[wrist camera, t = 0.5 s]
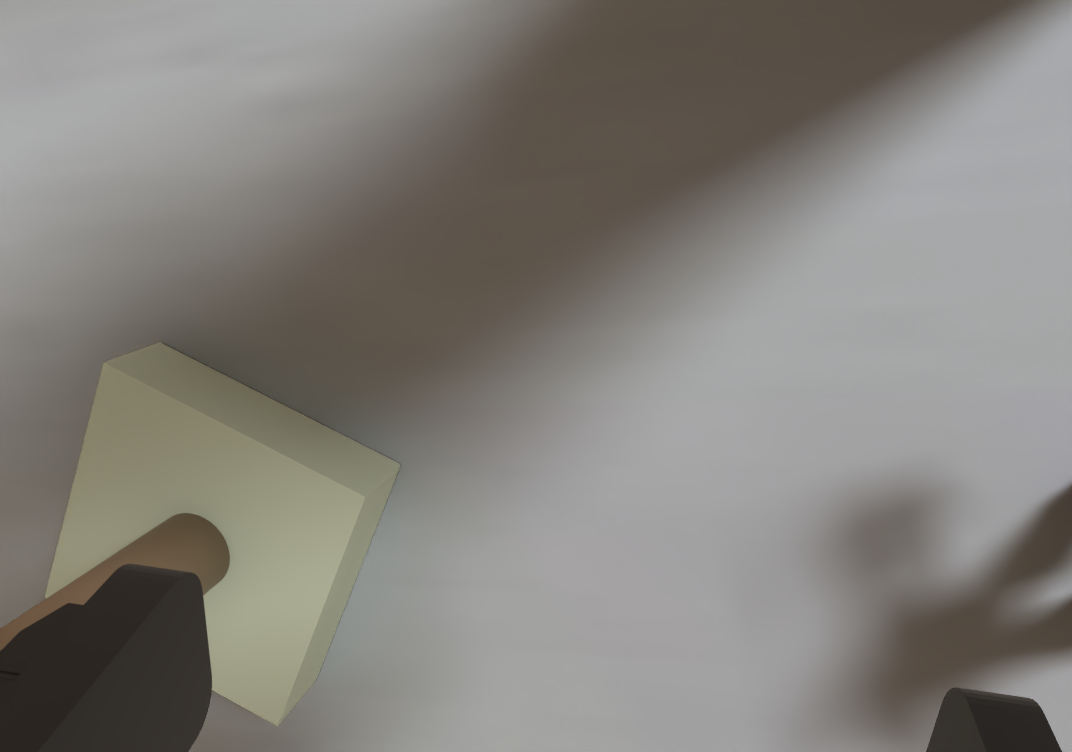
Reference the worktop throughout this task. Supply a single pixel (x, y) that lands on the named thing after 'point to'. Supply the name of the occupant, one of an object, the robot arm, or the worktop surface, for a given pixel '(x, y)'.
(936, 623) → the worktop surface
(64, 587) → the post block
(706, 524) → the worktop surface
